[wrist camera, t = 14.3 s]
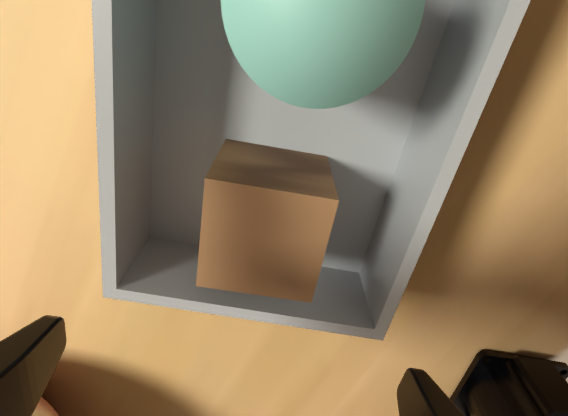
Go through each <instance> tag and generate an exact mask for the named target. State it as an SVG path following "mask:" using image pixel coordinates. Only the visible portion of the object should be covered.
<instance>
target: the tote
mask: <svg viewBox="0 0 568 416" xmlns="http://www.w3.org/2000/svg"><path fill="white" fill-rule="evenodd" d="M530 1H531V0H425V6H424V13H423V17H422V20H421V24H420V28H419V30H418V33H417V35H416V38H415V41H414V43H413V45H412V47H411V48H410V50H409V52H408V54H407V56H406V57H405V59H404V60H403V62H402V63H401V65H400V66H399V67H398V68H397V70H396V71H395V72H394V73H393V74H392V75H391V77H390V78H388V79H387V80H386V81H385V82H384V83H383V84H382V85H381V86H380V87H378V88H377V89H376V90H374V91H373V92H371V93H370V94H368V95H366V96H365V97H363V98H361V99H359V100H357V101H354V102H352V103H350V104H346V105H343V106H339V107H334V108H327V109H310V108H302V107H298V106H294V105H291V104H288V103H286V102H283V101H281V100H278V99H277V98H275V97H273V96H272V95H270V94H268V93H267V92H266V91H264V90H263V89H262V88H260V87H259V86H258V85H257V84H256V83H255V82H254V81H253V80H252V79H251V78H250V77H249V76H248V75H247V73H246V72H245V71H244V69H243V68H242V67H241V65H240V64H239V62H238V60H237V58H236V57H235V55H234V53H233V51H232V48H231V46H230V44H229V42H228V38H227V35H226V32H225V29H224V24H223V18H222V11H221V0H92V19H93V46H94V72H95V98H96V125H97V151H98V177H99V204H100V230H101V256H102V282H103V297H105V298H112V299H118V300H125V301H131V302H138V303H144V304H150V305H157V306H163V307H170V308H176V309H183V310H189V311H196V312H202V313H209V314H215V315H222V316H228V317H235V318H241V319H248V320H254V321H261V322H267V323H273V324H280V325H286V326H293V327H299V328H306V329H312V330H319V331H325V332H332V333H338V334H345V335H351V336H358V337H364V338H371V339H377V340H383V339H384V337H385V335H386V332H387V330H388V328H389V325H390V323H391V321H392V318H393V316H394V314H395V312H396V309H397V307H398V305H399V302H400V300H401V298H402V295H403V293H404V291H405V289H406V286H407V284H408V282H409V279H410V277H411V275H412V272H413V270H414V268H415V266H416V263H417V261H418V259H419V256H420V254H421V252H422V249H423V247H424V245H425V243H426V240H427V238H428V236H429V233H430V231H431V229H432V226H433V224H434V222H435V219H436V217H437V215H438V213H439V210H440V208H441V206H442V203H443V201H444V199H445V196H446V194H447V192H448V190H449V187H450V185H451V183H452V180H453V178H454V176H455V173H456V171H457V169H458V167H459V164H460V162H461V160H462V157H463V155H464V153H465V150H466V148H467V146H468V144H469V141H470V139H471V137H472V134H473V132H474V130H475V127H476V125H477V123H478V121H479V118H480V116H481V114H482V111H483V109H484V107H485V104H486V102H487V100H488V98H489V95H490V93H491V91H492V88H493V86H494V84H495V81H496V79H497V77H498V75H499V72H500V70H501V68H502V65H503V63H504V61H505V58H506V56H507V54H508V52H509V49H510V47H511V45H512V42H513V40H514V38H515V35H516V33H517V31H518V29H519V26H520V24H521V22H522V19H523V17H524V15H525V12H526V10H527V8H528V6H529V3H530ZM225 139H231V140H237V141H242V142H248V143H254V144H260V145H266V146H271V147H277V148H283V149H289V150H295V151H300V152H306V153H312V154H318V155H324V156H327V158H328V161H329V165H330V168H331V172H332V176H333V179H334V183H335V187H336V190H337V194H338V198H339V203H338V207H337V211H336V214H335V218H334V222H333V225H332V229H331V233H330V237H329V240H328V244H327V248H326V251H325V255H324V259H323V263H322V266H321V270H320V274H319V277H318V281H317V285H316V288H315V292H314V296H313V300H312V303H309V302H302V301H295V300H288V299H282V298H275V297H268V296H261V295H254V294H247V293H240V292H233V291H226V290H220V289H213V288H206V287H199V286H196V279H197V266H198V254H199V242H200V230H201V218H202V206H203V194H204V182H205V177H206V175H207V173H208V171H209V169H210V168H211V166H212V164H213V162H214V160H215V158H216V156H217V154H218V153H219V151H220V149H221V147H222V145H223V143H224V141H225Z"/></svg>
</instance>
